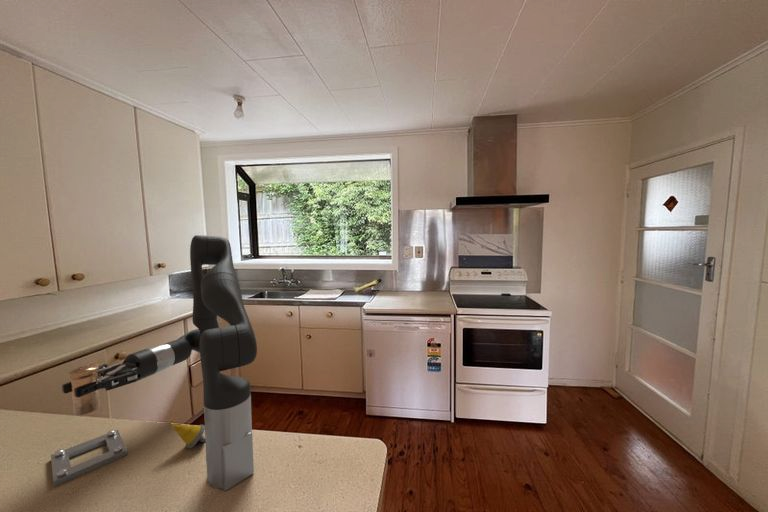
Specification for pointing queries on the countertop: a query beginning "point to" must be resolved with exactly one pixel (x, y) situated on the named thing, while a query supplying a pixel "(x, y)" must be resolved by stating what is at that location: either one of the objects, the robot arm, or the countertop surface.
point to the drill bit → (190, 434)
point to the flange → (66, 472)
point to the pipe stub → (81, 378)
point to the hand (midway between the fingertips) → (69, 391)
